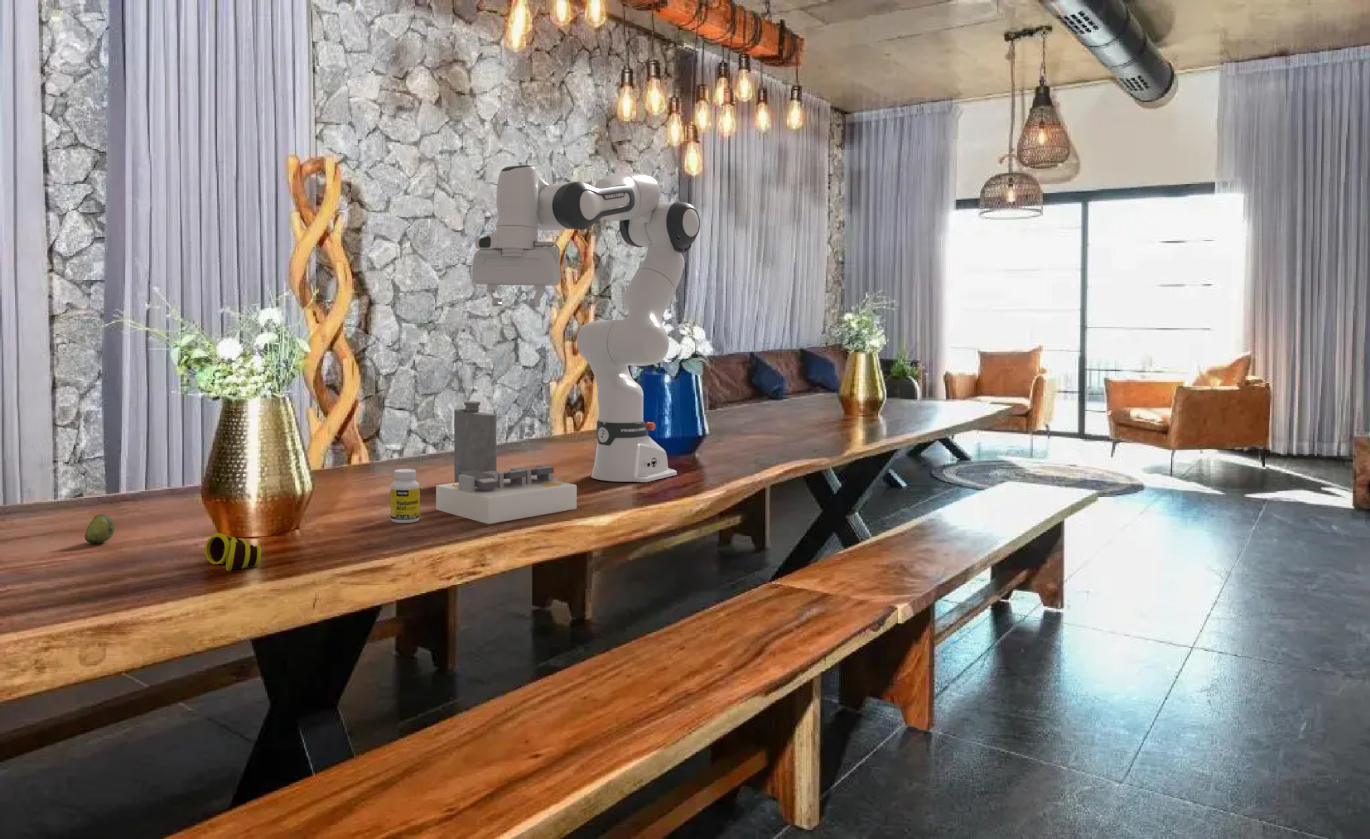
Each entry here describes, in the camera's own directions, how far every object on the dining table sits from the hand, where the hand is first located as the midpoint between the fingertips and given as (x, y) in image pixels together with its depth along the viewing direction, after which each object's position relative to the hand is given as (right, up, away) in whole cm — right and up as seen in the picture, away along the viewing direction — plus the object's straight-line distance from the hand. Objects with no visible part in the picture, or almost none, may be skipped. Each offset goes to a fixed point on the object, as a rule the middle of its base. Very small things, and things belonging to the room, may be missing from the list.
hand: (515, 306), depth 205 cm
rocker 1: (-5, -36, -15) cm, 40 cm away
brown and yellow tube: (-34, -48, -56) cm, 81 cm away
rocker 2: (0, -36, -10) cm, 37 cm away
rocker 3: (+5, -35, -5) cm, 36 cm away
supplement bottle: (-17, -44, -22) cm, 52 cm away
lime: (-63, -46, -44) cm, 89 cm away
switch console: (0, -43, -9) cm, 44 cm away
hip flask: (-12, -40, +14) cm, 44 cm away
